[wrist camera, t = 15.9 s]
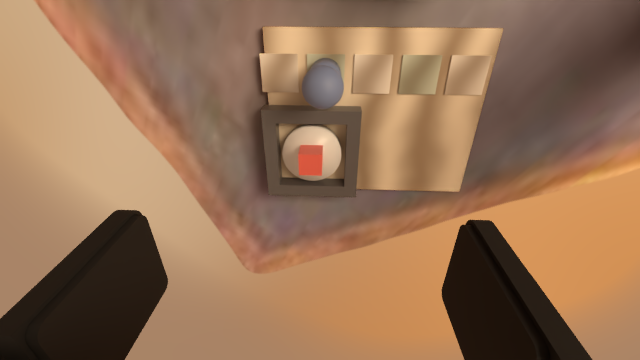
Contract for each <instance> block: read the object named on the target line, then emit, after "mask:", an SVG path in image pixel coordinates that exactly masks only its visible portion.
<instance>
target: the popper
mask: <svg viewBox="0 0 640 360" xmlns="http://www.w3.org/2000/svg"><path fill="white" fill-rule="evenodd" d="M282 155H283V160H284V163H285V165H286V167H287V168H288V170H289V171H290V172H291V173H292V174H294V175H295V176H297V177H299V178H301V179H304V180H309V181H317V180H322V179H325V178H327V177H329V176H330V175H332V174H333V173H334V172H335V171H336V169H337V168H338V166H339V164H340V161H341V144H340V141H339V139H338V137H337V135H336V134H335V133H334V132H333V131H332V130H331V129H329V128H328V127H326V126H324V125H321V124H302V125H300V126H297V127H296V128H294V129H293V130H292V131H291V132H290V133H289V135H288V136H287V138H286V140H285V143H284V146H283V151H282Z"/></svg>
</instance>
